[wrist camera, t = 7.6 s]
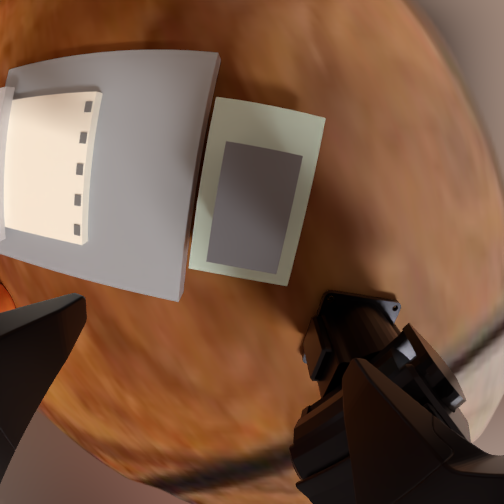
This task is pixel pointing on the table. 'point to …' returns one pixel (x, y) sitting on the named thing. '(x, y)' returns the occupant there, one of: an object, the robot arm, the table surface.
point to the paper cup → (5, 300)
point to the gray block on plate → (254, 190)
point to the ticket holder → (105, 164)
